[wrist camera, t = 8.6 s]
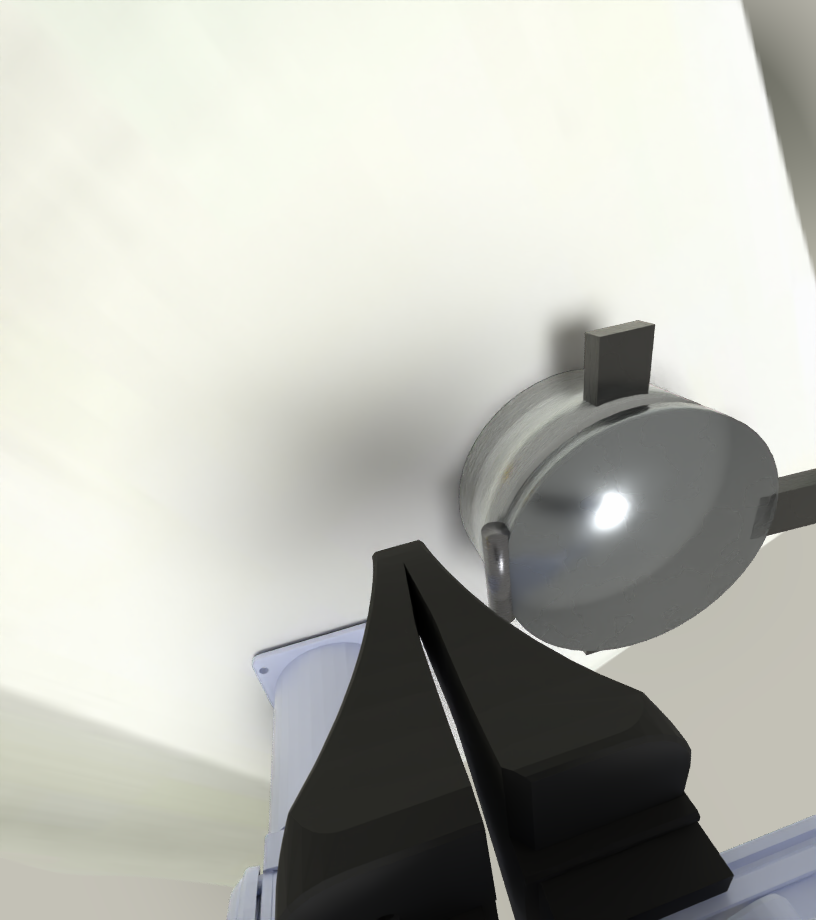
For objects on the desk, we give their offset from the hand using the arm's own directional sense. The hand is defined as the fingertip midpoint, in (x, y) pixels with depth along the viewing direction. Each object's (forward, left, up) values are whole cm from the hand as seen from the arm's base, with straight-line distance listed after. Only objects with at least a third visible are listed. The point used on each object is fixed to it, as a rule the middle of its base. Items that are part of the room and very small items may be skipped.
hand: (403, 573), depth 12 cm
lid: (-6, -12, -5) cm, 15 cm away
